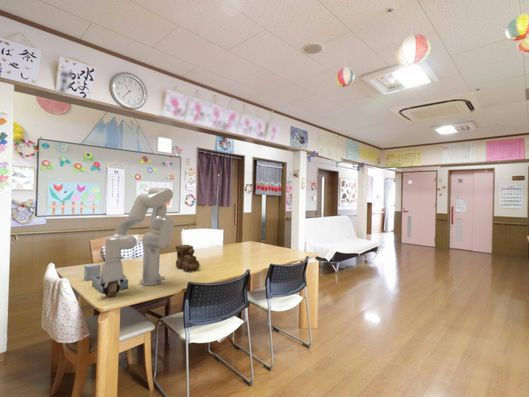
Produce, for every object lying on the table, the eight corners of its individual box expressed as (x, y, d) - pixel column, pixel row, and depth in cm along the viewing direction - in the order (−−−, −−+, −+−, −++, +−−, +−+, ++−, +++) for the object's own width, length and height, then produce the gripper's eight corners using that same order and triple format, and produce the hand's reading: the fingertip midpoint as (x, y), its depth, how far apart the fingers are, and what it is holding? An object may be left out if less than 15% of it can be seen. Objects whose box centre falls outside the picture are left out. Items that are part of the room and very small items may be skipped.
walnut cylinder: (118, 294, 153) (118, 281, 152) (113, 297, 148) (114, 284, 147) (109, 293, 152) (109, 281, 152) (104, 297, 147) (104, 284, 147)
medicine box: (97, 276, 181) (98, 263, 181) (100, 278, 178) (100, 264, 178) (83, 279, 175) (84, 265, 174) (86, 280, 172) (86, 267, 172)
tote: (92, 285, 164) (92, 277, 164) (116, 280, 174) (116, 272, 174) (102, 293, 152) (102, 284, 152) (127, 288, 162) (128, 279, 162)
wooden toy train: (173, 267, 212) (174, 245, 211) (186, 264, 220) (187, 244, 220) (187, 273, 198) (188, 249, 198) (200, 270, 206) (201, 248, 206)
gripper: (126, 256, 159) (125, 288, 159) (92, 260, 146) (91, 295, 146) (131, 259, 153) (130, 291, 154) (97, 263, 141) (96, 299, 141)
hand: (111, 292), depth 150 cm, fingers closed on walnut cylinder, 5 cm apart
